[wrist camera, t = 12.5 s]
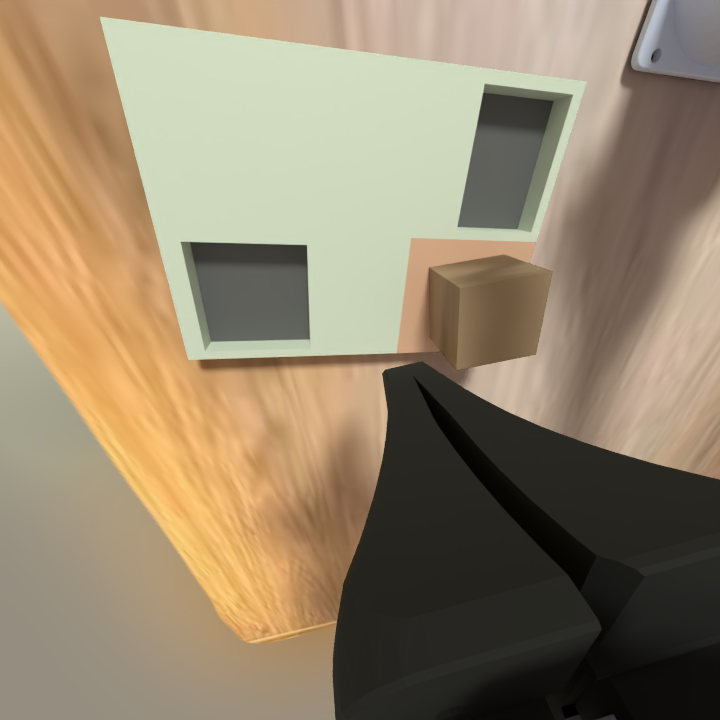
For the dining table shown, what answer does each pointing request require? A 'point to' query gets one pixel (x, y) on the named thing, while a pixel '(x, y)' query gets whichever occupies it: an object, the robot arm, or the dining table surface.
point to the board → (327, 182)
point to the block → (487, 309)
